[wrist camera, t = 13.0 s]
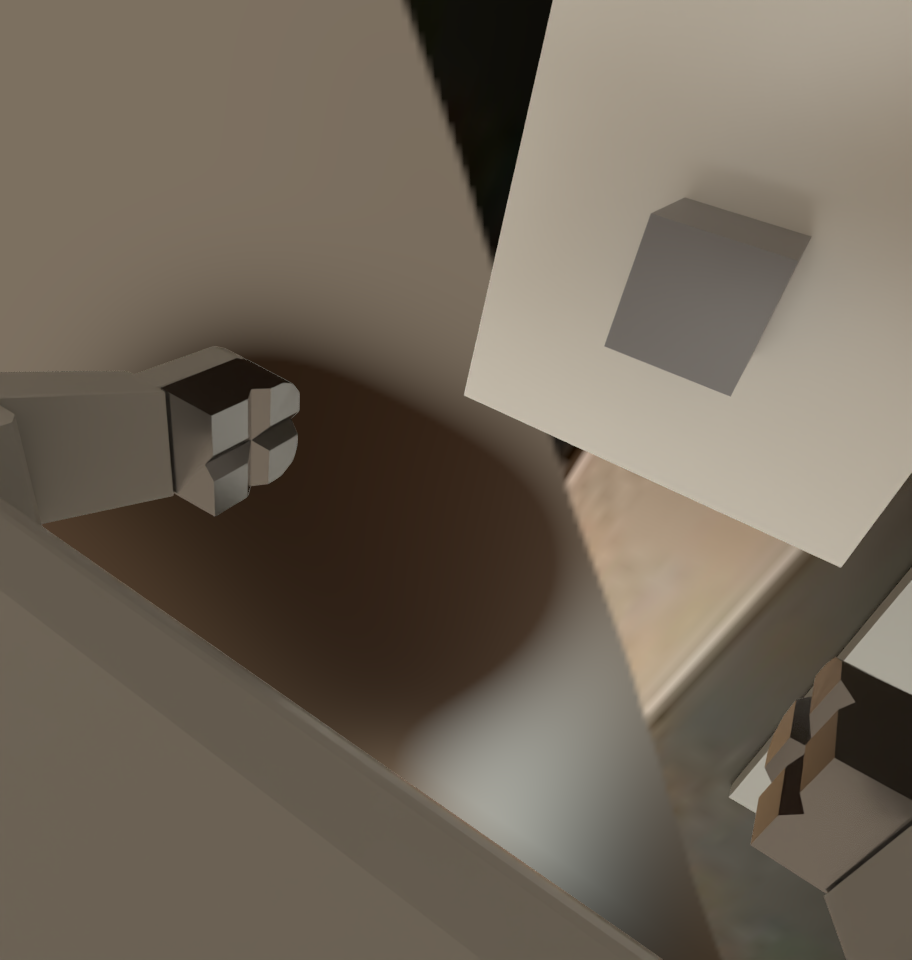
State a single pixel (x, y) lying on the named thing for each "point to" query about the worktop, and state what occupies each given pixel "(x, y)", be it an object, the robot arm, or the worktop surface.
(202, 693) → the robot arm
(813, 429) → the cover sheet
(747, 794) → the mat
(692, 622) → the worktop surface
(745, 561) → the worktop surface
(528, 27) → the worktop surface
